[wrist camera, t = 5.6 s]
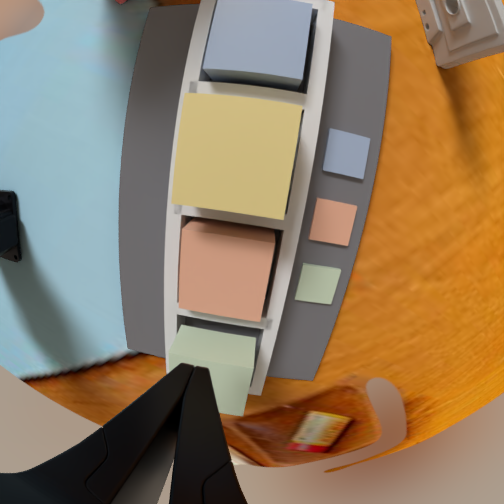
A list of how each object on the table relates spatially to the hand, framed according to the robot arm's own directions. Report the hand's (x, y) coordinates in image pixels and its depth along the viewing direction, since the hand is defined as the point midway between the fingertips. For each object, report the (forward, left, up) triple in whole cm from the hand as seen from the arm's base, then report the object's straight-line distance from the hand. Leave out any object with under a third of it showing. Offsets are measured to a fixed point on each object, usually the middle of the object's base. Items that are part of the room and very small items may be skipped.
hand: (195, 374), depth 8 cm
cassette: (+10, +21, -11) cm, 26 cm away
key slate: (0, +12, -9) cm, 15 cm away
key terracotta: (0, 0, -9) cm, 9 cm away
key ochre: (0, +6, -7) cm, 9 cm away
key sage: (0, -6, -7) cm, 9 cm away
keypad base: (0, +3, -11) cm, 11 cm away
